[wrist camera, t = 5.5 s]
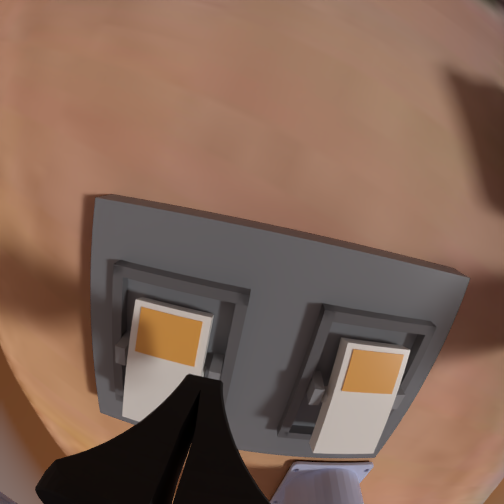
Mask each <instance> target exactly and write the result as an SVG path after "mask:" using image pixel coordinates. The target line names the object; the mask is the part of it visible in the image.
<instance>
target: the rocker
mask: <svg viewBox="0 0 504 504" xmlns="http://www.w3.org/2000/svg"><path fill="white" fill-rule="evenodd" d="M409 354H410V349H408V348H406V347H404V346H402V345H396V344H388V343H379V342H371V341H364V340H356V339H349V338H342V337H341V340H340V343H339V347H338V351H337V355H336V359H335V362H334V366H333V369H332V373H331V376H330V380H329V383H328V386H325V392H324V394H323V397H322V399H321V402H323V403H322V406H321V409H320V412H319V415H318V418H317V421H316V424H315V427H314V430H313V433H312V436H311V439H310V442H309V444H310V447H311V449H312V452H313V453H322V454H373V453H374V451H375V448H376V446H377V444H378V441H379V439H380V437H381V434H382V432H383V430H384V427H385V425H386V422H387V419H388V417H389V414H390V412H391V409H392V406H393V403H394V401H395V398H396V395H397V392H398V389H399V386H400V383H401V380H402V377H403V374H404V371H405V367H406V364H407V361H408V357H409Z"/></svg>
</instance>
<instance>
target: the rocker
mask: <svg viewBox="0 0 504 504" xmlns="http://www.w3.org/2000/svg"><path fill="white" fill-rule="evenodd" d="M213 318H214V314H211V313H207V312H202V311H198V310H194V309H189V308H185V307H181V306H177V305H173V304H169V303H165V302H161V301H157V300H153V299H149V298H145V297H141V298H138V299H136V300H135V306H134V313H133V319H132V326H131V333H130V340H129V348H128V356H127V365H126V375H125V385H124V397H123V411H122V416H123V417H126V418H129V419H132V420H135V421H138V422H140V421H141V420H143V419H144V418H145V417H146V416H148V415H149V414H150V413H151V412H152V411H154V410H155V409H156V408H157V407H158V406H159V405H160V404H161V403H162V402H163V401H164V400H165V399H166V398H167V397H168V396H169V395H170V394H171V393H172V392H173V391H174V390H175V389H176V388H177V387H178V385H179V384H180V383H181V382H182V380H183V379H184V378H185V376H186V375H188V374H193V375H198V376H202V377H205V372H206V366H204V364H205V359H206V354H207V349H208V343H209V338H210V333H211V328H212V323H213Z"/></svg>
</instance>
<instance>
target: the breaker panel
mask: <svg viewBox="0 0 504 504" xmlns="http://www.w3.org/2000/svg"><path fill="white" fill-rule="evenodd" d="M469 280H470V278H469V277H467V276H466V275H464V274H462V273H461V272H459V271H457V270H456V269H454V268H451V267H447V266H443V265H439V264H435V263H431V262H428V261H424V260H420V259H416V258H412V257H408V256H404V255H400V254H396V253H392V252H388V251H384V250H380V249H375V248H371V247H367V246H363V245H359V244H355V243H350V242H346V241H342V240H337V239H333V238H329V237H324V236H320V235H315V234H311V233H307V232H302V231H297V230H293V229H288V228H284V227H279V226H274V225H270V224H265V223H260V222H256V221H251V220H246V219H241V218H236V217H231V216H226V215H222V214H217V213H211V212H206V211H201V210H196V209H191V208H186V207H181V206H175V205H170V204H165V203H159V202H154V201H148V200H143V199H137V198H132V197H126V196H120V195H114V194H110V195H105V196H100V197H95V207H94V218H93V231H92V248H91V328H92V345H93V358H94V368H95V378H96V386H97V394H98V401H99V407H100V412H101V413H103V414H106V415H108V416H111V417H114V418H117V419H120V420H122V421H125V422H128V423H131V424H134V425H136V424H137V423H139V422H138V421H135V420H132V419H129V418H126V417H123V416H122V411H123V397H124V385H125V375H126V365H127V356H128V348H129V340H130V333H131V326H132V319H133V313H134V306H135V300H136V299H138V298H141V297H145V298H149V299H153V300H157V301H161V302H165V303H169V304H173V305H177V306H181V307H185V308H189V309H194V310H198V311H202V312H207V313H211V314H214V318H213V323H212V328H211V333H210V338H209V343H208V349H207V354H206V359H205V364H204V366H206V372H205V377H207V378H211V379H216V380H221V381H222V382H223V399H224V405H225V411H226V415H227V419H228V423H229V426H230V430H231V433H232V436H233V439H234V441H235V444H236V446H237V449H238V450H244V451H251V452H258V453H266V454H275V455H285V456H298V457H314V458H375V457H376V455H377V454H378V453H379V451H380V450H381V448H382V447H383V446H384V444H385V443H386V442H387V440H388V439H389V437H390V436H391V434H392V433H393V431H394V430H395V429H396V427H397V426H398V424H399V423H400V421H401V419H402V418H403V416H404V415H405V413H406V412H407V410H408V408H409V407H410V405H411V403H412V402H413V400H414V399H415V397H416V395H417V393H418V392H419V390H420V388H421V386H422V385H423V383H424V381H425V379H426V377H427V376H428V374H429V372H430V370H431V368H432V366H433V364H434V362H435V360H436V358H437V356H438V354H439V352H440V350H441V348H442V346H443V344H444V342H445V340H446V337H447V335H448V333H449V331H450V329H451V326H452V324H453V322H454V319H455V317H456V314H457V312H458V310H459V307H460V305H461V302H462V299H463V297H464V294H465V291H466V289H467V286H468V283H469ZM341 337H342V338H349V339H356V340H364V341H371V342H379V343H388V344H396V345H402V346H404V347H406V348H408V349H410V354H409V357H408V361H407V364H406V367H405V371H404V374H403V377H402V380H401V383H400V386H399V389H398V392H397V395H396V398H395V401H394V403H393V406H392V409H391V412H390V414H389V417H388V419H387V422H386V425H385V427H384V430H383V432H382V434H381V437H380V439H379V441H378V444H377V446H376V448H375V451H374V453H373V454H322V453H313V452H312V449H311V447H310V444H309V442H310V439H311V436H312V433H313V430H314V427H315V424H316V421H317V418H318V415H319V412H320V409H321V406H322V403H323V402H321V399H322V397H323V394H324V392H325V386H328V383H329V380H330V376H331V373H332V369H333V366H334V362H335V359H336V355H337V351H338V347H339V343H340V340H341Z"/></svg>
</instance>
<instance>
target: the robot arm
mask: <svg viewBox="0 0 504 504" xmlns="http://www.w3.org/2000/svg"><path fill="white" fill-rule="evenodd" d="M191 443H192V444H191ZM190 446H191V447H190ZM189 449H190V450H189ZM188 451H189V454H188ZM187 454H188V457H187ZM186 457H187V460H186V464H185V467H184V470H183V473H182V476H181V480H180V483H179V486H178V489H177V492H176V495H175V498H174V501H173V497H174V493H175V489H176V485H177V482H178V478H179V475H180V473H181V470H182V467H183V465H184V462H185V459H186ZM372 468H373V463H372V462H357V463H326V462H302V461H297V462H294V463H293V464H292V465H291V467H290V469H289V470H288V472H287V474H286V476H285V477H284V479H283V481H282V482H281V484H280V486H279V487H278V489H277V491H276V492H275V494H274V495H273V497H272V499H271V500H270V502H269V501H268V500H267V498H266V497H265V496H264V494H263V493H262V491H261V490H260V489H259V487H258V486H257V484H256V482H255V481H254V479H253V478H252V476H251V474H250V473H249V471H248V469H247V467H246V466H245V464H244V462H243V460H242V458H241V456H240V453H239V451H238V449H237V446H236V444H235V441H234V439H233V436H232V433H231V430H230V426H229V423H228V419H227V415H226V411H225V405H224V399H223V382H222V381H221V380H216V379H211V378H207V377H202V376H198V375H193V374H188V375H186V376H185V378H184V379H183V380H182V382H181V383H180V384H179V385H178V387H177V388H176V389H175V390H174V391H173V392H172V393H171V394H170V395H169V396H168V397H167V398H166V399H165V400H164V401H163V402H162V403H161V404H160V405H159V406H158V407H157V408H156V409H155V410H154V411H152V412H151V413H150V414H149V415H148V416H146V417H145V418H144V419H143V420H141V421H140V422H139V423H137V424H136V425H134V426H133V427H131V428H130V429H128V430H127V431H125V432H124V433H122V434H120V435H118V436H117V437H115V438H113V439H111V440H109V441H107V442H105V443H103V444H101V445H98V446H96V447H94V448H91V449H89V450H87V451H84V452H81V453H78V454H75V455H71V456H68V457H64V458H61V459H57V460H55V461H54V462H53V463H52V464H51V466H50V467H49V468H48V469H47V470H46V471H45V473H44V474H43V476H42V478H41V479H40V481H39V483H38V484H37V486H36V489H35V490H36V493H37V495H38V497H39V498H40V499H41V501H42V502H43V503H44V504H172V501H173V504H364V502H363V498H362V493H361V489H360V485H359V483H360V482H361V481H362V480H363V479H364V477H365V476H366V475H367V474H368V473H369V471H370V470H371V469H372ZM0 504H17V503H16V502H14V501H13V500H11V499H10V498H8V497H7V496H6V495H4V494H3V493H1V492H0Z"/></svg>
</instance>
